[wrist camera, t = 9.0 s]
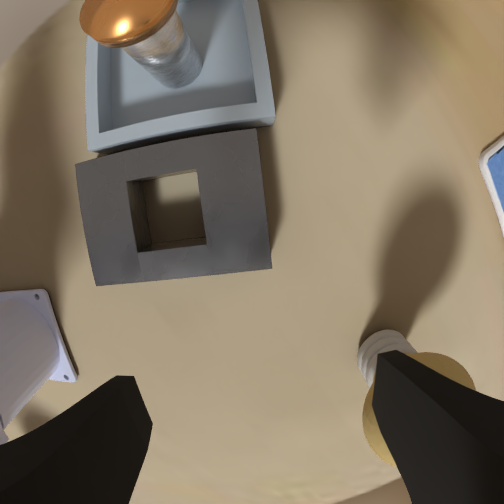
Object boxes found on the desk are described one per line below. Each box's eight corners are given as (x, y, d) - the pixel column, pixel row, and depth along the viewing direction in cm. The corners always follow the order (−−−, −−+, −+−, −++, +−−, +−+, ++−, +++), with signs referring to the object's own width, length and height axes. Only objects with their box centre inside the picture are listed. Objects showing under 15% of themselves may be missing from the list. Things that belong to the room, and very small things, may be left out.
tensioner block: (112, 274, 18) (96, 286, 16) (95, 165, 17) (75, 164, 14) (269, 257, 18) (272, 268, 15) (256, 135, 16) (256, 128, 14)
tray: (107, 154, 16) (87, 151, 14) (105, 21, 14) (90, 6, 12) (272, 125, 16) (275, 116, 14) (252, -11, 14) (251, -32, 11)
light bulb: (337, 313, 19) (398, 421, 9) (423, 301, 18) (513, 378, 9) (333, 391, 20) (369, 500, 10) (410, 375, 20) (470, 464, 10)
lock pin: (151, 101, 15) (76, 52, 7) (147, 50, 14) (83, -15, 7) (212, 87, 15) (173, 18, 7) (205, 35, 14) (170, -47, 6)
